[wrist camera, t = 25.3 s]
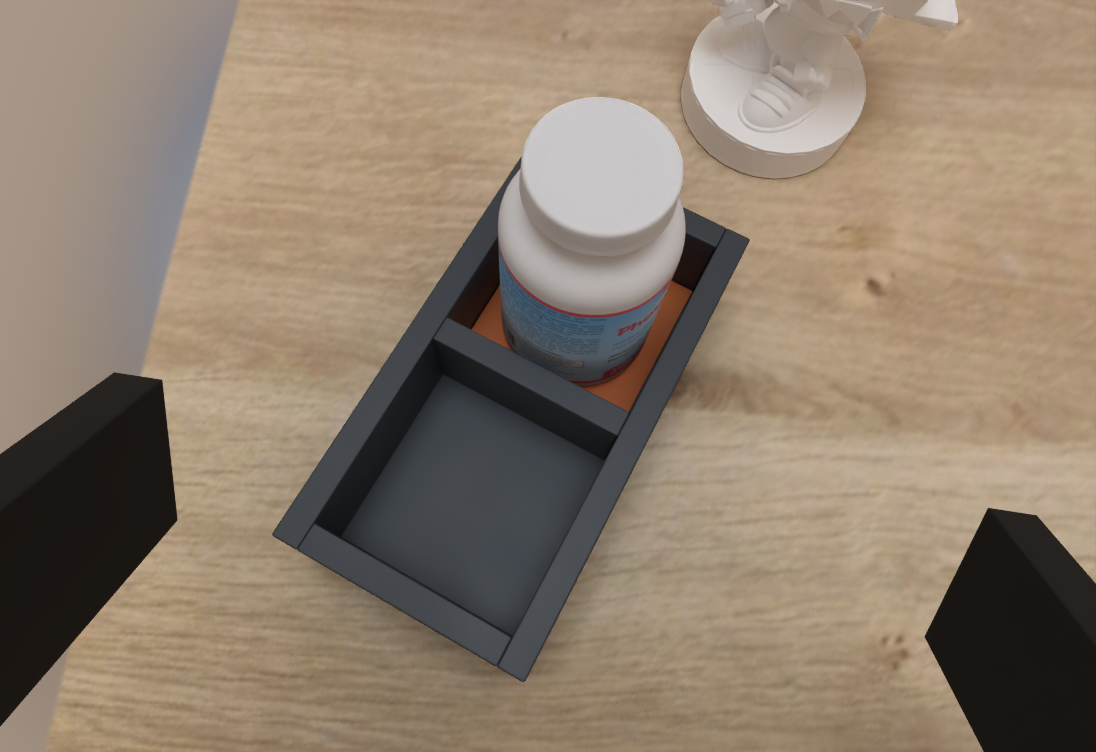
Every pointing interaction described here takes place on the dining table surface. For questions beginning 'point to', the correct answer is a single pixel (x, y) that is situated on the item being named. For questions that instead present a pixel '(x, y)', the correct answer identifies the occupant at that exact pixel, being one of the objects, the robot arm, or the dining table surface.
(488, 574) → the holder
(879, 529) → the dining table surface
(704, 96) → the character figurine
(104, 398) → the robot arm
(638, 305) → the pill bottle
